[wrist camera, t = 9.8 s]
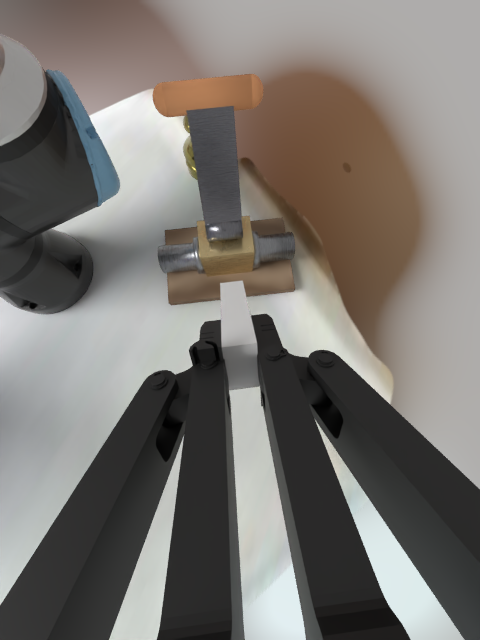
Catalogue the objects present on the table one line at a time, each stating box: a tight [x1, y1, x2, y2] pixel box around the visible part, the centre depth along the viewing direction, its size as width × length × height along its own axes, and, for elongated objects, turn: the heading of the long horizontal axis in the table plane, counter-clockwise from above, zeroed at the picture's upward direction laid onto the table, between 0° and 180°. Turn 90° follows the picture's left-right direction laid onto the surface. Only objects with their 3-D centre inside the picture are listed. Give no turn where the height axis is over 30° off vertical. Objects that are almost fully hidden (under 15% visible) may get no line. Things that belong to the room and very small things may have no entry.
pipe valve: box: [158, 216, 295, 305], centre depth 37 cm, size 14×22×8 cm, turn 97°
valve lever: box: [153, 74, 263, 242], centre depth 28 cm, size 3×12×16 cm
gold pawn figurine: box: [183, 115, 198, 180], centre depth 41 cm, size 7×7×10 cm
